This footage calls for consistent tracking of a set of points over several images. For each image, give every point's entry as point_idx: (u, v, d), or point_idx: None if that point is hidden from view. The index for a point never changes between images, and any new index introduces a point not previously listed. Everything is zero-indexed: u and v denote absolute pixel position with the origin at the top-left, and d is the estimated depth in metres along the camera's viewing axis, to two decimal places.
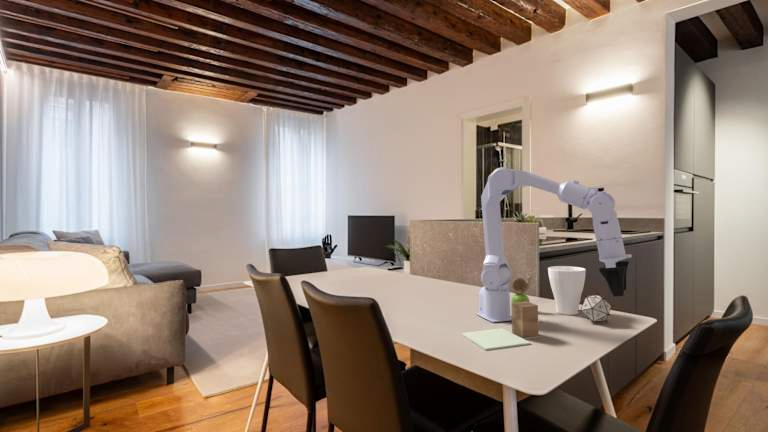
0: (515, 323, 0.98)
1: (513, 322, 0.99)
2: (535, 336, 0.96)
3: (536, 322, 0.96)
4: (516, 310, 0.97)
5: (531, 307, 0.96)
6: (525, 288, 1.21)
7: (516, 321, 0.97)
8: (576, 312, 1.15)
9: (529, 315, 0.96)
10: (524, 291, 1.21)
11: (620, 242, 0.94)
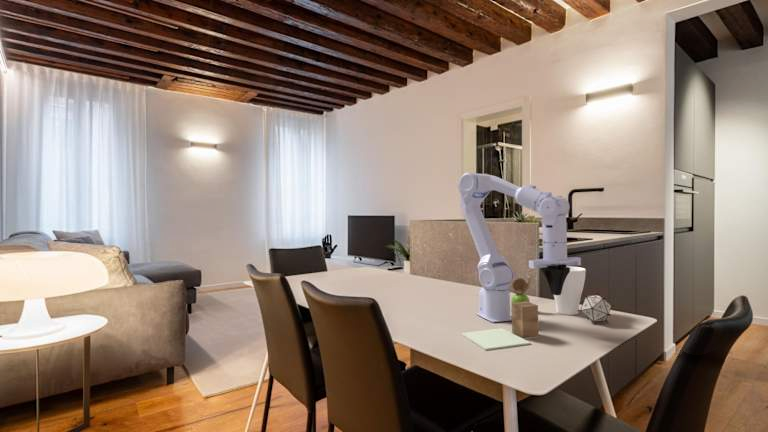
0: (515, 323, 0.98)
1: (513, 322, 0.99)
2: (535, 336, 0.96)
3: (536, 322, 0.96)
4: (516, 310, 0.97)
5: (531, 307, 0.96)
6: (525, 288, 1.21)
7: (516, 321, 0.97)
8: (576, 312, 1.15)
9: (529, 315, 0.96)
10: (524, 291, 1.21)
11: (556, 247, 0.97)
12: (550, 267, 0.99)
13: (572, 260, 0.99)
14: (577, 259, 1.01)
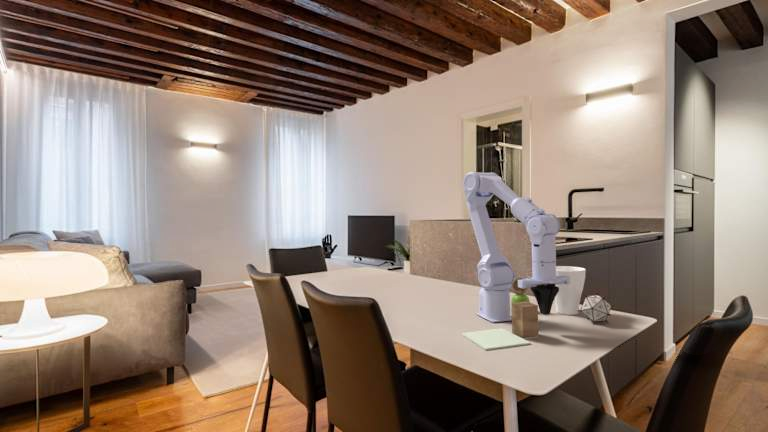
0: (515, 323, 0.98)
1: (513, 322, 0.99)
2: (535, 336, 0.96)
3: (536, 322, 0.96)
4: (516, 310, 0.97)
5: (531, 307, 0.96)
6: (525, 288, 1.21)
7: (516, 321, 0.97)
8: (576, 312, 1.15)
9: (529, 315, 0.96)
10: (524, 291, 1.21)
11: (545, 266, 0.96)
12: (539, 286, 0.98)
13: (561, 279, 0.99)
14: (566, 278, 1.00)
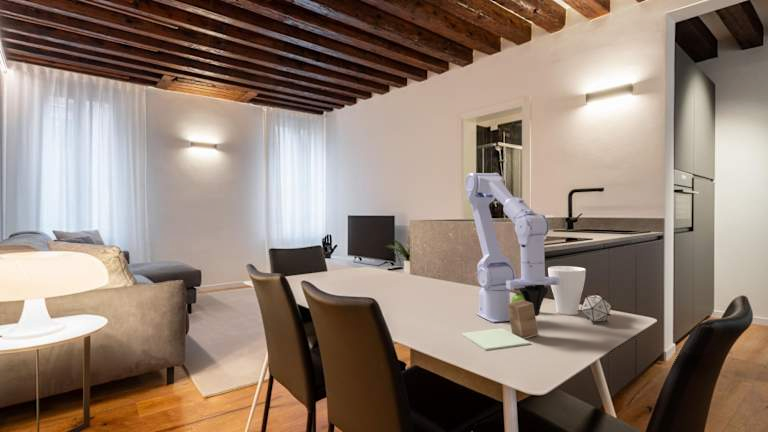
0: (513, 323, 0.98)
1: (511, 322, 0.99)
2: (535, 334, 0.96)
3: (534, 320, 0.96)
4: (512, 311, 0.97)
5: (527, 306, 0.95)
6: None
7: (514, 322, 0.97)
8: (576, 312, 1.15)
9: (526, 314, 0.95)
10: None
11: (534, 267, 0.96)
12: (527, 287, 0.97)
13: (550, 280, 0.98)
14: (555, 279, 0.99)
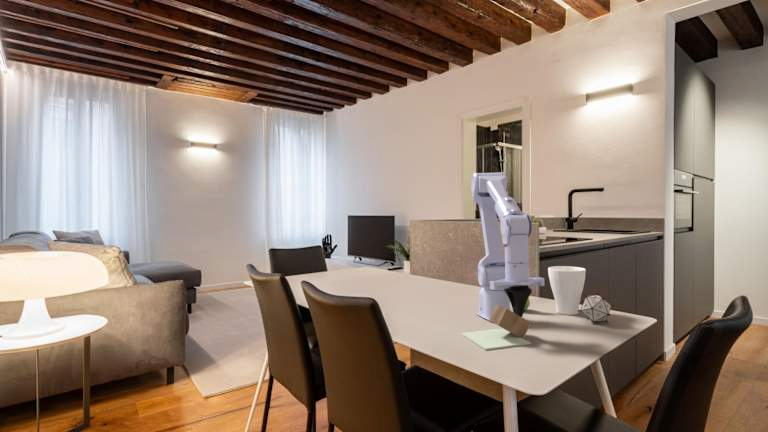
0: None
1: None
2: (528, 325, 0.95)
3: (519, 317, 0.95)
4: (497, 324, 0.96)
5: (504, 315, 0.94)
6: None
7: (506, 329, 0.97)
8: (576, 312, 1.15)
9: (509, 321, 0.94)
10: None
11: (517, 268, 0.94)
12: (512, 288, 0.96)
13: (535, 281, 0.96)
14: (540, 280, 0.98)
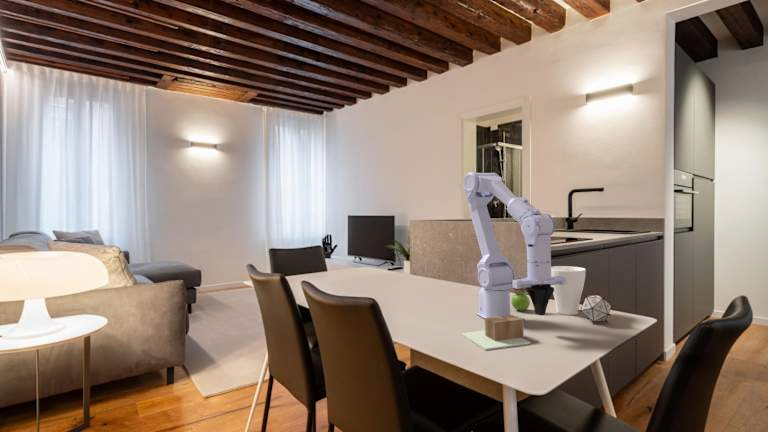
0: None
1: None
2: (522, 322, 0.95)
3: (510, 322, 0.94)
4: None
5: (496, 329, 0.93)
6: (525, 288, 1.21)
7: None
8: (576, 312, 1.15)
9: (503, 331, 0.94)
10: (524, 291, 1.21)
11: (540, 267, 0.96)
12: (534, 287, 0.97)
13: (556, 280, 0.98)
14: (562, 278, 0.99)
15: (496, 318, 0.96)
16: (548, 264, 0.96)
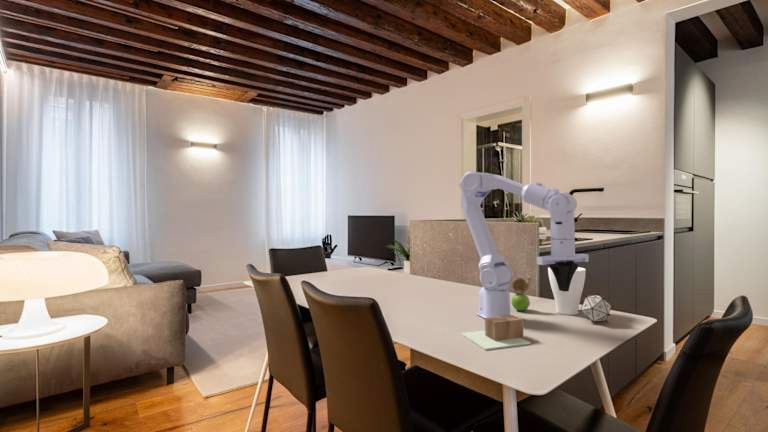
0: None
1: None
2: (522, 322, 0.95)
3: (510, 322, 0.94)
4: None
5: (496, 329, 0.93)
6: (525, 288, 1.21)
7: None
8: (576, 312, 1.15)
9: (503, 331, 0.94)
10: (524, 291, 1.21)
11: (564, 243, 0.98)
12: (558, 263, 0.99)
13: (580, 256, 1.00)
14: (585, 256, 1.01)
15: (496, 318, 0.96)
16: (572, 241, 0.98)
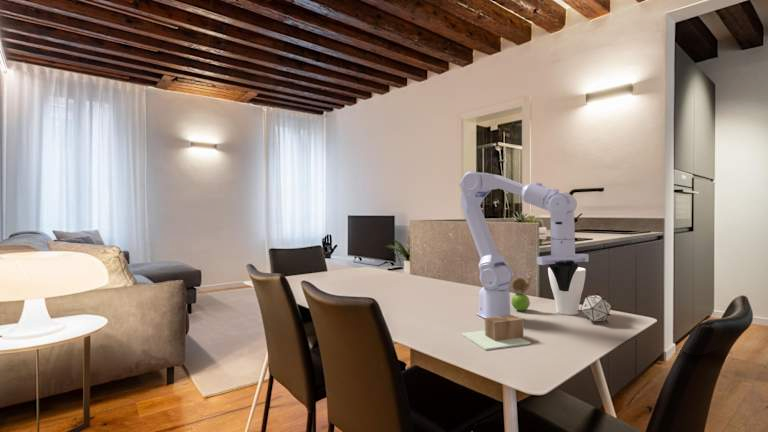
0: None
1: None
2: (522, 322, 0.95)
3: (510, 322, 0.94)
4: None
5: (496, 329, 0.93)
6: (525, 288, 1.21)
7: None
8: (576, 312, 1.15)
9: (503, 331, 0.94)
10: (524, 291, 1.21)
11: (564, 243, 0.98)
12: (558, 263, 0.99)
13: (580, 256, 1.00)
14: (585, 256, 1.01)
15: (496, 318, 0.96)
16: (572, 241, 0.98)
